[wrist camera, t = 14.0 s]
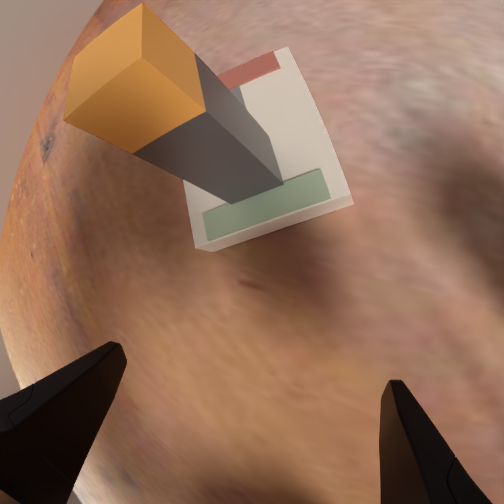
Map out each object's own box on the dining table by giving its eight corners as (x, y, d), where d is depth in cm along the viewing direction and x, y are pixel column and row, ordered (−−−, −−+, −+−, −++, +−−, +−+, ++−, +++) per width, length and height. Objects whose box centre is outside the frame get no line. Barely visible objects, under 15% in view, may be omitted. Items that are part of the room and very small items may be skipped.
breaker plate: (354, 204, 16) (350, 192, 14) (212, 252, 19) (193, 248, 17) (296, 64, 19) (286, 44, 17) (187, 114, 22) (170, 101, 20)
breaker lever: (284, 184, 15) (141, 56, 6) (231, 204, 16) (63, 120, 7) (269, 136, 16) (142, 2, 6) (220, 157, 17) (74, 57, 7)
